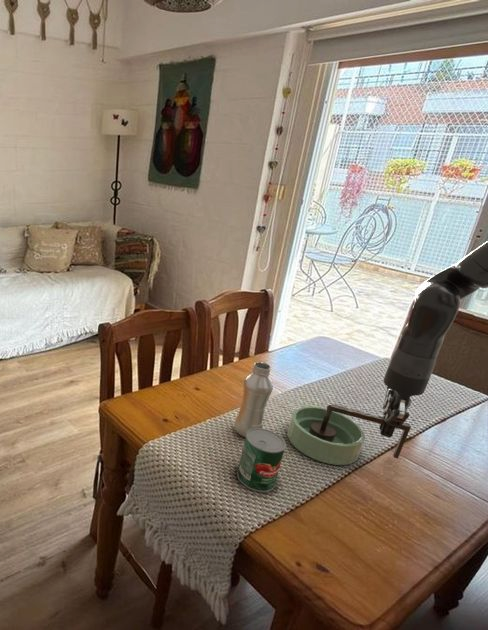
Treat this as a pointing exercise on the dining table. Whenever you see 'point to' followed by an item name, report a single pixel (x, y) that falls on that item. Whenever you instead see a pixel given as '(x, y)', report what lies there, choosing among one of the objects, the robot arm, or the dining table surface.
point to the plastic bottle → (254, 399)
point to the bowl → (334, 452)
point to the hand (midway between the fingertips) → (385, 432)
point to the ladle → (328, 432)
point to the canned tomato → (261, 459)
